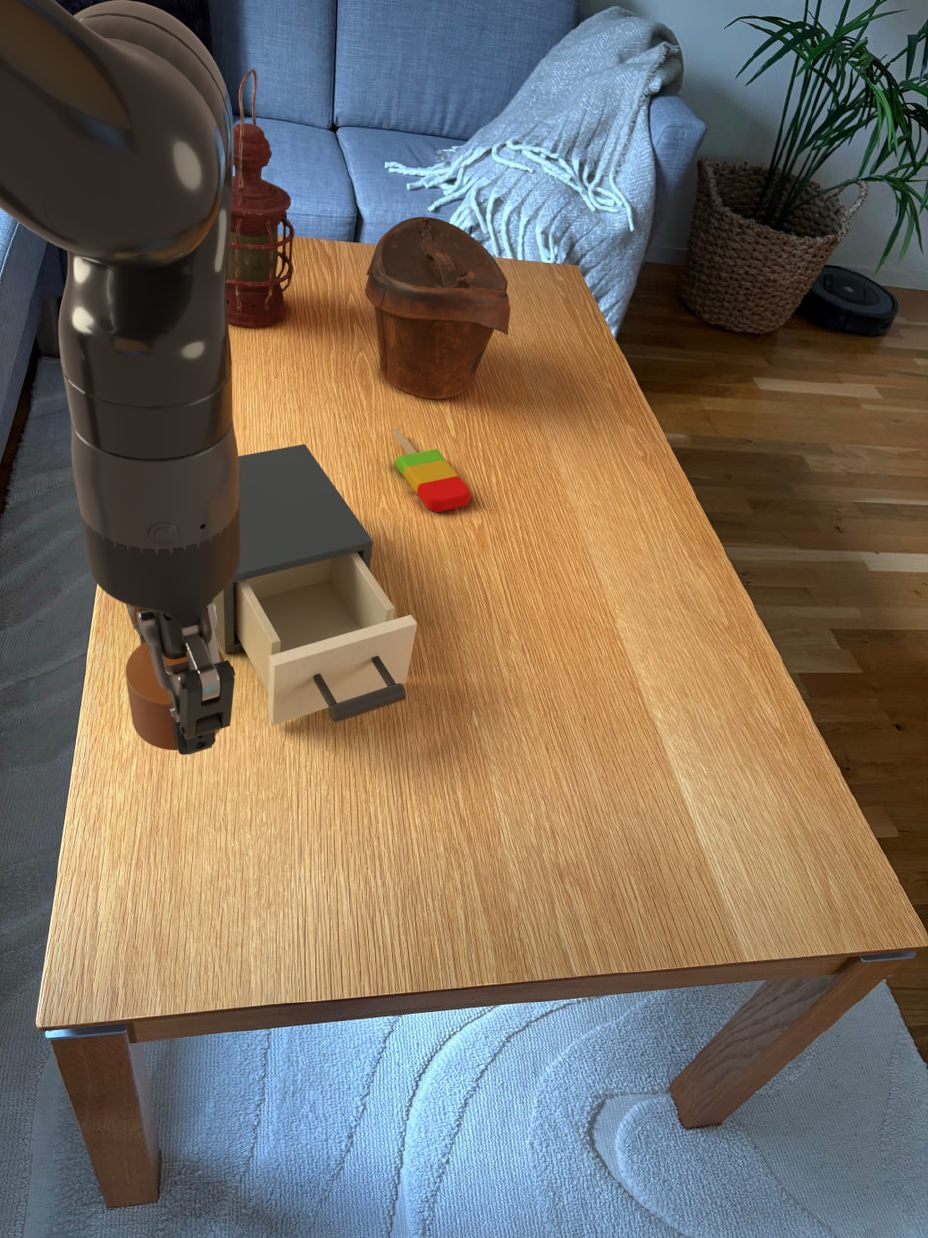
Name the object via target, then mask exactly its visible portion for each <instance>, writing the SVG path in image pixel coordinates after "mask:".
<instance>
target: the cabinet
mask: <svg viewBox="0 0 928 1238" xmlns="http://www.w3.org/2000/svg"><path fill="white" fill-rule="evenodd" d="M238 459H239V512H240V562H239V566H238V570H237V572H236V574H235V576H234V578H233V579H232V581H231V582H230V583H229V584H228V585H227V586H226V587H225V588H224V589H223V590H222V591H221V592H220V593H219V594H218V595H217V596H216V597H215V598H214V599H213V600H214V603H215V607H216V612H217V618H218V625H217V627H216V629H215V633H216V639H217V642H218V643H219V645H220V647H221V649H222V651H223V652H224V655H225V654H226V655H227V654H230V653H233V652H237V651H241V650H245V649H244V648H243V646H242V644H241V642H240V640H239V638H238V636H237V634H236V632H235V630H234V605H233V583H234V582H238V581H242V580H246V579H250V578H254V577H258V576H262V575H266V574H270V573H274V572H278V571H282V570H286V569H290V568H294V567H298V566H302V565H306V564H310V563H314V562H318V561H322V560H326V559H330V558H334V557H338V556H342V555H346V554H350V553H354V552H357V553H358V554H359V556H360V557H361V559H362V560H363V562H364V563H365V565H366V566H367V568H368V569H369V571H370V569H371V560H372V554H373V553H372V552H373V545H374V539H373V538H372V537H371V536H370V535H369V533H368V531H367V530H366V528H364V526H363V524H362V523H361V522H360V520H359V519H358V517H357V516H356V515H355V513H354V512H353V510H352V509H351V507H350V506H349V505H348V503H347V502H346V500H345V499H344V498H343V496H342V495H341V493H340V492H339V490H338V489H337V487H336V486H335V485H334V483H333V482H332V481H331V479H330V477H329V476H328V475H327V474H326V472H325V470H324V469H323V468H322V466H321V465H320V463H319V462H318V461H317V459H316V458H315V456H314V455H313V453H312V452H311V451H310V449H309V448H308V446H307V445H306V444H305V443H303V444H302V443H301V444H297V445H291V446H286V447H280V448H275V449H270V450H264V451H259V452H254V453H249V454H243V455H238Z"/></svg>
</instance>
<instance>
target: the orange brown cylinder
mask: <svg viewBox="0 0 928 1238" xmlns="http://www.w3.org/2000/svg"><path fill="white" fill-rule="evenodd" d="M218 650H219V656H220V661H221V662H222V661H225V658H224V655H223V654H222V652H221V650H220V649H219V648H218ZM164 659H165V664H166V666H173V665H176V664H180V663H184V662H187V661H188V659H187V657H184V658H180V659H176V660H171V659H168V658H166V657H164ZM125 679H126V686H127V694H128V700H129V707H130V714H131V720H132V726H133V728H134V730H135V732H136V734H137V735H138V736H139V737H140V738H141V739H142V740H143V741H144V742H146V743H147V744H149V745H151V746H152V747H156V748H157V749H162V750H167V751H178V749H177V747H176V744H175V737H174V727H173V717H171V714H170V709H171V706H170V701H169V697H168V692H167V690H165V689H163V688H162V687H161V686H160V684H159V683H158V681H157V680H156V678H155V676H154V671H153V667H152V662H151V657H150V653H149V648H148V643H147V642H144V643H143V644H141V643H140V644H139V645H138V646H137V647H136V648H135V649H134V650H133V651H132V652H131V654H130V655H129V657H128V659H127V662H126V665H125ZM220 731H221V729H219V730H216V731H215V736H216V735H217V734H218V733H219V732H220Z"/></svg>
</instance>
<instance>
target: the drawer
mask: <svg viewBox="0 0 928 1238" xmlns="http://www.w3.org/2000/svg"><path fill="white" fill-rule="evenodd" d="M233 605H234V630H235V632H236V634H237V636H238V638H239V640H240V642H241V644H242V646H243V648H244V649H243V650H244V651H245V653H246V655H247V657H248V659H249V661H250V663H251V665H252V666H253V668H254V670H255V672H256V674H257V676H258V679H259V680H260V682H261V683H262V685H263V688H264V689H265V691H266V693H267V695H268V696H267V698H268V699H267V717H268V719H269V721H270V723H271V725H272V726H276V725H281V724H282V723H286V722H289V721H292V720H295V719H299V718H301V717H305V716H307V715H310V714H313V713H316V712H320V711H322V710H326V709H328V715H329V718H330V720H331V722H332V723H333V724H337V723H340V722H344V721H346V720H349V719H352V718H356V717H357V716H361V715H363V714H367V713H370V712H373V711H375V710H379V709H381V708H384V707H388V706H390V705H393V704H397V703H399V702H402V701H405V700H406V699H407V692H406V688H405V687H404V685H403V684H405V683H407V680H408V675H409V670H410V665H411V659H412V654H413V649H414V643H415V637H416V632H417V627H418V622H417V620H415V618H414V617H413V615H412V614H408V615H405V616H401V617H398V618H394V617H395V610H396V607H395V606H394V604H393V603H392V601H391V600H390V598H389V597H388V596H387V594H386V592H385V591H384V590H383V588H382V586H381V585H380V583H379V582H378V581H377V579H376V578H375V576H374V574H372V572H371V571H370V570H369V569H368V568H367V566H366V565H365V563H364V562H363V560H362V559H361V557H360V556H359V554H358V553H357V552H354V553H350V554H346V555H342V556H338V557H334V558H330V559H326V560H322V561H318V562H314V563H310V564H306V565H302V566H298V567H294V568H290V569H286V570H282V571H278V572H274V573H270V574H266V575H262V576H258V577H254V578H250V579H246V580H242V581H238V582H234V583H233Z"/></svg>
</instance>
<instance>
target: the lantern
mask: <svg viewBox="0 0 928 1238" xmlns="http://www.w3.org/2000/svg"><path fill="white" fill-rule="evenodd" d="M251 75H253V87H252V98H251V99H252V100H251V116H252V117H251V119H252V123H247V122H245V115H244V106H243V93H244V92H243V91H244V86H245V84H246V82H247V80H248V79H249V78H250V76H251ZM257 87H258V74H257V71H256V70H255V68H251V69H250V70H249V72H247V73H246V74H245V75H244V76H243V77H242V80H241V82H240V85H239V90H238V105H239V114H240V123H237V124H235V125H233V133H234V151H233V167H234V175H233V183H232V206H231V225H230V242H229V258H228V271H227V285H226V300H227V316H228V325H231V326H234V327H239V328H246V329H247V328H266V327H268V326H272V325H275V324H277V323H280V322H281V321H282V320H283V319H284V318H285V316H286V314H287V307H286V305H285V297H284V292H285V291H286V290H287V289H289V287H290V286H291V283H292V277H293V274H294V265H293V263H292V258H293V242H294V238H295V234H296V233H295V228H294V226H293V224H292V223H291V221H290V220H289V219H288V212H287V210H289V209H290V207H291V205H292V198H291V196H290V194H289V193H288V191H286V190H285V189H283V188H282V187H280V186H278V185H276V184H274V183H272V182H268V181H267V180H265V179H263V178H262V173H263V172H262V171H263V168H265V167H267V166H268V164H269V163H270V159H272V155H273V151H272V150H271V145H270V142H269V140H268V139H267V138H266V135H265V131H264V130H263V129H262V128H261V127H260V126H259V125H257V119H256V100H257V99H256V98H257ZM281 223H282V226H283V228H282V229H283V230H282V232H283V233H282V240H279V226H280V224H281ZM287 228H288V233H289V234H288V235H287ZM288 243H289V244H288ZM287 244H288V245H289V246H288V255H287ZM279 247H282V251H279ZM279 258H280V259H281V269H280V271H279V273H278V275H277V270H278V263H279ZM286 264H287V266H288V267H287V271H286V273H285V274H284V275H283V273H284V271H285V268H286ZM282 275H283V276H282ZM285 281H287V282H286V284H285V286H284V287H282V285H281V284H282V283H284V282H285Z"/></svg>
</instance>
